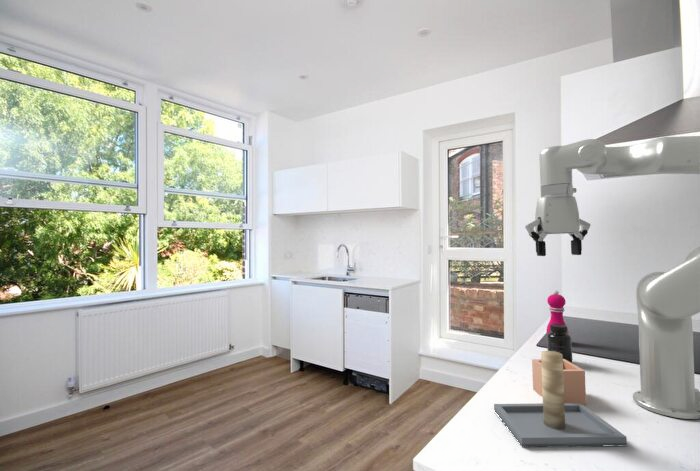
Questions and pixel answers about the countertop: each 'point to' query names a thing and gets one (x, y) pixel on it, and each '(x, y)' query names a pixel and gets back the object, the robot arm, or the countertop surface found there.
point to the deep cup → (571, 378)
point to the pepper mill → (556, 309)
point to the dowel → (553, 389)
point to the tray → (577, 432)
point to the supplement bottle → (560, 341)
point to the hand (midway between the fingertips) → (558, 255)
